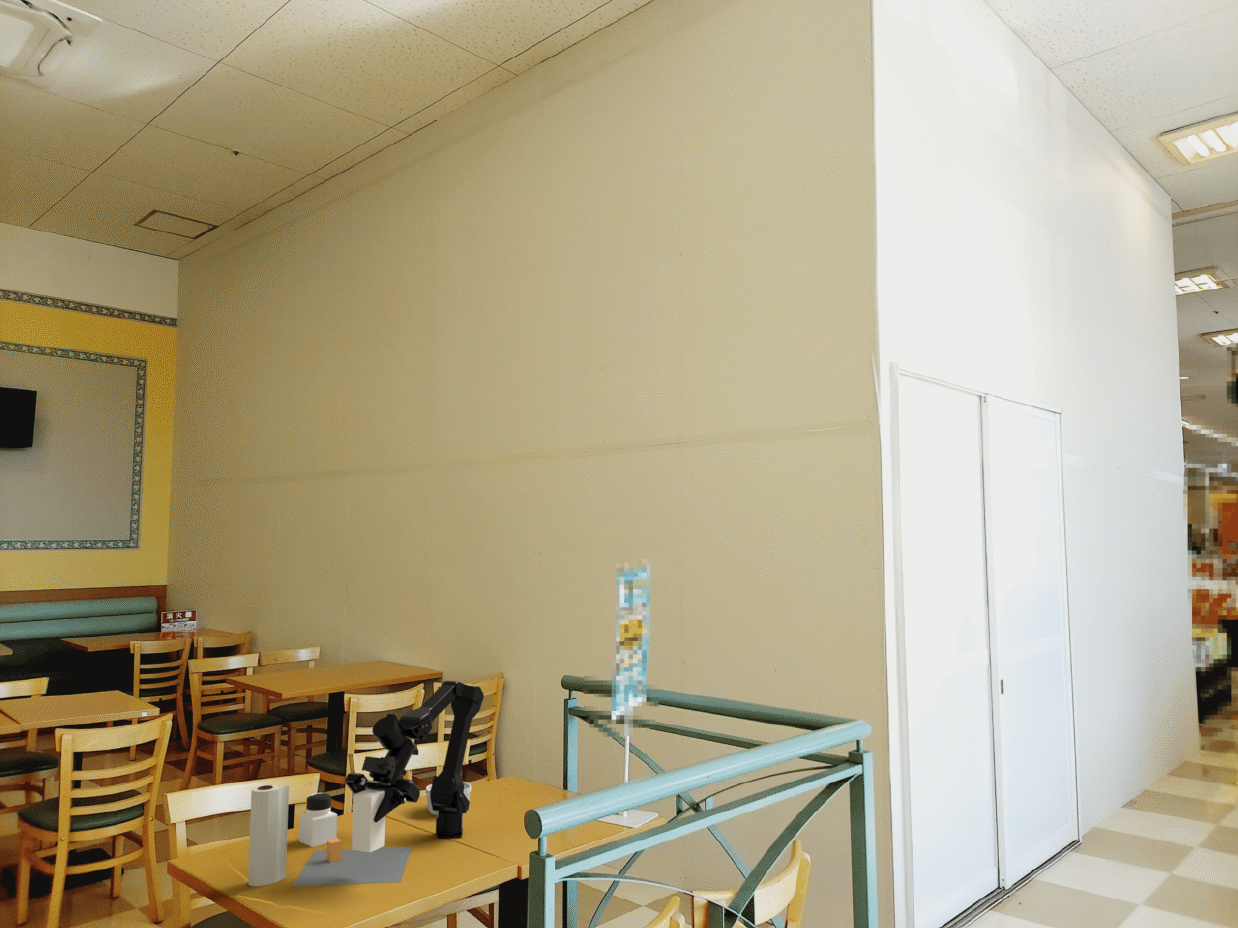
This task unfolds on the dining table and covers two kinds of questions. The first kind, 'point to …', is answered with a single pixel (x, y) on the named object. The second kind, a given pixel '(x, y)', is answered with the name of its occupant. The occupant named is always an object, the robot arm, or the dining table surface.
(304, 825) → the medicine bottle
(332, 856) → the orange block
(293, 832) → the dining table surface
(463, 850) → the dining table surface
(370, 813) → the tall white pillar
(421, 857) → the dining table surface
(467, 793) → the ramekin
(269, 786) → the paper towel roll
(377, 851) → the mat
